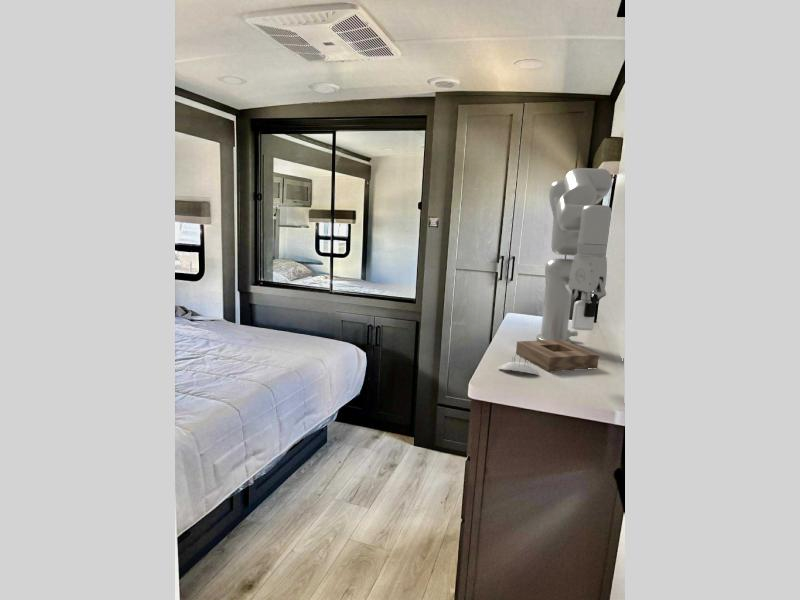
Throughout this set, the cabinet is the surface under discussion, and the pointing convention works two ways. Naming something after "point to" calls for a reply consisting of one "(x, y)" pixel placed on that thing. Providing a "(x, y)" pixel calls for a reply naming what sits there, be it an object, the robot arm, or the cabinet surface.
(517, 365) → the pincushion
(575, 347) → the walnut socket block
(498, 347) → the cabinet surface
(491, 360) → the cabinet surface
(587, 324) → the eye dropper bottle
